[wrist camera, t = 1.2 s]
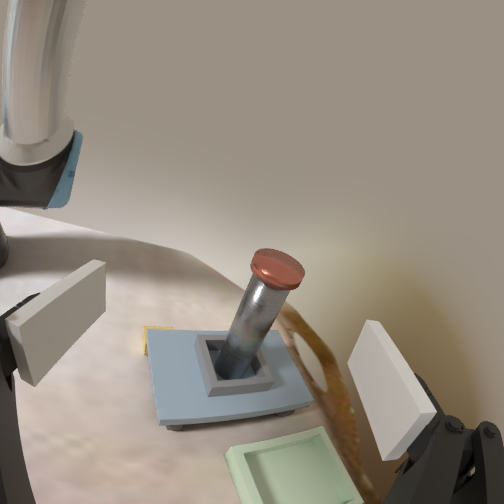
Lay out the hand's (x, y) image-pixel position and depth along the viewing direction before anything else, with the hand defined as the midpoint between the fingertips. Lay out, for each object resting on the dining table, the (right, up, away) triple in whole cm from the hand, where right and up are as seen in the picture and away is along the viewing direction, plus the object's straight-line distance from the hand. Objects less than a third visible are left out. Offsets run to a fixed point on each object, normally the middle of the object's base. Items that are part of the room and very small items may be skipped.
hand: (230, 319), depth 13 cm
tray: (+5, -23, +11) cm, 26 cm away
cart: (-4, -14, +22) cm, 26 cm away
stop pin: (-2, -10, +18) cm, 21 cm away
